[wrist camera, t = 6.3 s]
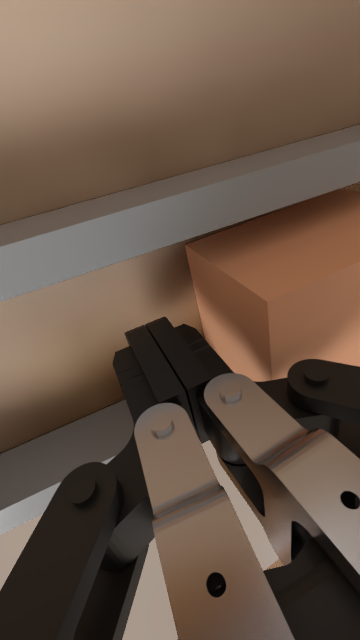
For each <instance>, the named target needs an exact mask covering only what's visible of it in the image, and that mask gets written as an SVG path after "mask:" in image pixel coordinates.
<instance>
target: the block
mask: <svg viewBox="0 0 360 640" xmlns="http://www.w3.org/2000/svg"><path fill="white" fill-rule="evenodd" d="M185 248H186V253H187V257H188V262H189V267H190V271H191V276H192V280H193V285H194V290H195V294H196V299H197V304H198V308H199V313H200V317H201V322H202V327H203V331H204V336H205V340H206V341H207V342H208V343H209V345H210V346H211V347H212V348H213V349H214V350H215V351H216V353H217V354H218V355H219V356H220V357H221V358H222V359H223V361H224V362H225V363H226V364H227V365H228V366H229V367H230V369H231V370H232V371H233V372H234V373H238V374H242V375H245V376H247V377H248V378H250V379H251V380H252V381H256V382H263V381H270V380H276V379H281V378H287V374H288V371H289V369H290V367H291V366H292V365H293V364H295V363H297V362H298V361H301V360H305V359H321V360H326V361H332V362H337V363H342V364H348V365H353V366H359V367H360V192H356V191H349V190H343V189H337V190H334V191H331V192H328V193H325V194H322V195H319V196H316V197H314V198H311V199H308V200H306V201H303V202H300V203H297V204H295V205H292V206H289V207H287V208H284V209H281V210H278V211H276V212H273V213H270V214H268V215H265V216H262V217H259V218H257V219H254V220H251V221H249V222H246V223H243V224H240V225H238V226H235V227H232V228H230V229H227V230H224V231H221V232H219V233H216V234H213V235H211V236H208V237H205V238H202V239H200V240H197V241H194V242H192V243H189V244H186V245H185Z"/></svg>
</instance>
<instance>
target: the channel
mask: <svg viewBox="0 0 360 640" xmlns="http://www.w3.org/2000/svg"><path fill="white" fill-rule="evenodd" d="M358 182H360V124H359V125H356V126H352V127H348V128H345V129H341V130H338V131H334V132H331V133H327V134H324V135H320V136H316V137H313V138H309V139H306V140H302V141H299V142H295V143H291V144H288V145H284V146H281V147H277V148H274V149H270V150H266V151H263V152H259V153H256V154H252V155H249V156H245V157H242V158H238V159H234V160H231V161H227V162H224V163H220V164H217V165H213V166H209V167H206V168H202V169H199V170H195V171H192V172H188V173H185V174H181V175H177V176H174V177H170V178H167V179H163V180H160V181H156V182H152V183H149V184H145V185H142V186H138V187H135V188H131V189H128V190H124V191H120V192H117V193H113V194H110V195H106V196H103V197H99V198H95V199H92V200H88V201H85V202H81V203H78V204H74V205H70V206H67V207H63V208H60V209H56V210H53V211H49V212H46V213H42V214H38V215H35V216H31V217H28V218H24V219H21V220H17V221H13V222H10V223H6V224H3V225H0V302H1V301H4V300H7V299H10V298H13V297H16V296H19V295H22V294H25V293H28V292H31V291H34V290H37V289H40V288H43V287H46V286H49V285H52V284H55V283H58V282H61V281H64V280H67V279H70V278H73V277H76V276H79V275H82V274H85V273H88V272H91V271H94V270H97V269H100V268H103V267H106V266H109V265H112V264H115V263H118V262H121V261H124V260H127V259H130V258H133V257H136V256H139V255H142V254H145V253H148V252H151V251H154V250H157V249H160V248H163V247H166V246H169V245H172V244H175V243H178V242H181V241H184V240H187V239H190V238H193V237H196V236H199V235H202V234H205V233H208V232H211V231H214V230H217V229H220V228H223V227H226V226H229V225H232V224H235V223H238V222H241V221H244V220H247V219H250V218H253V217H256V216H259V215H262V214H265V213H268V212H271V211H274V210H277V209H280V208H283V207H286V206H289V205H292V204H295V203H298V202H301V201H304V200H307V199H310V198H313V197H316V196H319V195H322V194H325V193H328V192H331V191H334V190H337V189H340V188H343V187H346V186H349V185H352V184H355V183H358ZM133 428H134V423H133V419H132V416H131V413H130V410H129V407H128V405H127V402H126V399H125V400H122V401H120V402H118V403H116V404H113V405H111V406H109V407H106V408H104V409H102V410H100V411H97V412H95V413H93V414H90V415H88V416H86V417H84V418H81V419H79V420H77V421H74V422H72V423H70V424H68V425H65V426H63V427H61V428H58V429H56V430H54V431H52V432H49V433H47V434H45V435H43V436H40V437H38V438H36V439H33V440H31V441H29V442H27V443H24V444H22V445H20V446H17V447H15V448H13V449H11V450H8V451H6V452H4V453H1V454H0V535H1V534H3V533H5V532H7V531H9V530H11V529H13V528H15V527H17V526H19V525H21V524H23V523H25V522H27V521H29V520H31V519H33V518H35V517H37V516H39V515H41V514H43V513H44V512H45V510H46V508H47V506H48V504H49V503H50V501H51V499H52V497H53V495H54V494H55V492H56V490H57V488H58V487H59V485H60V483H61V482H62V481H63V479H64V478H65V477H66V476H67V475H68V474H69V473H70V472H71V471H73V470H74V469H76V468H77V467H79V466H81V465H83V464H86V463H90V462H101V463H104V464H107V463H109V462H110V461H111V460H112V459H113V458H114V457H115V456H117V455H118V454H119V453H120V452H121V451H122V450H123V449H124V448H125V446H126V445H127V444H128V442H129V440H130V438H131V436H132V433H133Z"/></svg>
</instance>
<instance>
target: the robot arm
mask: <svg viewBox="0 0 360 640" xmlns="http://www.w3.org/2000/svg"><path fill="white" fill-rule="evenodd" d="M145 325H146V326H145ZM145 325H142V326H140V327H137V328H135V329H132V330H130V331H127V332H125V336H126V339H127V341H128V344H129V347H127V348H124V349H122V350H120V351H117V352H115V356H114V360H113V366H114V369H115V371H116V374H117V377H118V380H119V383H120V385H121V388H122V391H123V394H124V396H125V399H126V402H127V405H128V407H129V410H130V413H131V416H132V419H133V423H134V428H133V433H132V436H131V438H130V440H129V442H128V444H127V445H126V446H125V448H124V449H123V450H122V451H121V452H120V453H119V454H118V455H117V456H115V457H114V458H113V459H112V460H111V461H110V462H109V463H107V464H104V463H101V462H90V463H86V464H83V465H81V466H79V467H77V468H76V469H74V470H73V471H71V472H70V473H69V474H68V475H67V476H66V477H65V478H64V479H63V481H62V482H61V483H60V485H59V487H58V488H57V490H56V492H55V494H54V495H53V497H52V499H51V501H50V503H49V504H48V506H47V508H46V510H45V512H44V513H43V516H42V517H41V519H40V521H39V522H38V524H37V526H36V528H35V530H34V531H33V533H32V535H31V537H30V539H29V541H28V542H27V544H26V546H25V548H24V549H23V551H22V553H21V555H20V557H19V558H18V560H17V562H16V564H15V565H14V567H13V569H12V571H11V573H10V574H9V576H8V578H7V580H6V582H5V584H4V585H3V587H2V589H1V591H0V640H122V637H123V634H124V631H125V627H126V623H127V620H128V617H129V613H130V610H131V607H132V603H133V600H134V596H135V593H136V589H137V586H138V583H139V579H140V576H141V572H142V569H143V565H144V562H145V558H146V555H147V551H148V547H149V543H150V542H151V541H152V540H153V538H154V537H155V540H156V544H157V549H158V553H159V557H160V562H161V565H162V570H163V574H164V579H165V583H166V587H167V592H168V596H169V600H170V605H171V609H172V613H173V618H174V622H175V626H176V630H177V635H178V640H360V367H359V366H353V365H348V364H342V363H337V362H332V361H326V360H321V359H305V360H301V361H298V362H297V363H295V364H293V365H292V366H291V367H290V369H289V371H288V374H287V378H281V379H276V380H270V381H263V382H256V381H252V380H251V379H250V378H248V377H247V376H245V375H242V374H238V373H234V372H233V371H232V370H231V369H230V367H229V366H228V365H227V364H226V363H225V362H224V361H223V359H222V358H221V357H220V356H219V355H218V354H217V353H216V351H215V350H214V349H213V348H212V347H211V346H210V345H209V343H208V342H207V341H206V340H205V339H204V338H203V337H202V335H201V334H200V333H199V332H198V331H197V330H196V329H195V328H193V327H190V326H188V325H186V324H183V325H180V326H178V327H175V328H174V327H173V326H172V324H171V323H170V322H169V320H168V319H167V318H166V317H162V318H160V319H157V320H155V321H152V322H150V323H147V324H145ZM208 440H210V441H211V443H212V444H213V446H214V448H215V449H216V453H217V457H218V461H219V463H220V465H221V466H222V468H223V469H224V470H225V472H226V473H227V475H228V476H229V478H230V479H231V481H232V482H233V483H234V485H235V486H236V488H237V489H238V491H239V492H240V494H241V495H242V496H243V498H244V499H245V501H246V502H247V504H248V505H249V507H250V508H251V510H252V511H253V512H254V514H255V515H256V517H257V518H258V520H259V521H260V523H261V525H262V526H263V528H264V530H265V532H266V535H267V537H268V539H269V541H270V543H271V545H272V547H273V549H274V550H275V552H276V554H277V555H278V557H279V559H280V560H281V562H282V563H283V565H284V566H281V567H277V568H273V569H269V570H265V571H263V570H262V568H261V566H260V564H259V561H258V559H257V557H256V555H255V553H254V551H253V548H252V546H251V544H250V542H249V540H248V538H247V536H246V534H245V531H244V530H243V527H242V525H241V523H240V520H239V518H238V516H237V514H236V512H235V510H234V508H233V505H232V503H231V501H230V499H229V497H228V495H227V493H226V491H225V490H224V488H223V487H222V486H220V484H219V482H218V480H217V478H216V476H215V474H214V471H213V469H212V467H211V465H210V463H209V461H208V458H207V456H206V454H205V452H204V449H203V447H202V445H201V444H202V443H204V442H206V441H208ZM200 442H201V443H200Z"/></svg>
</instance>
